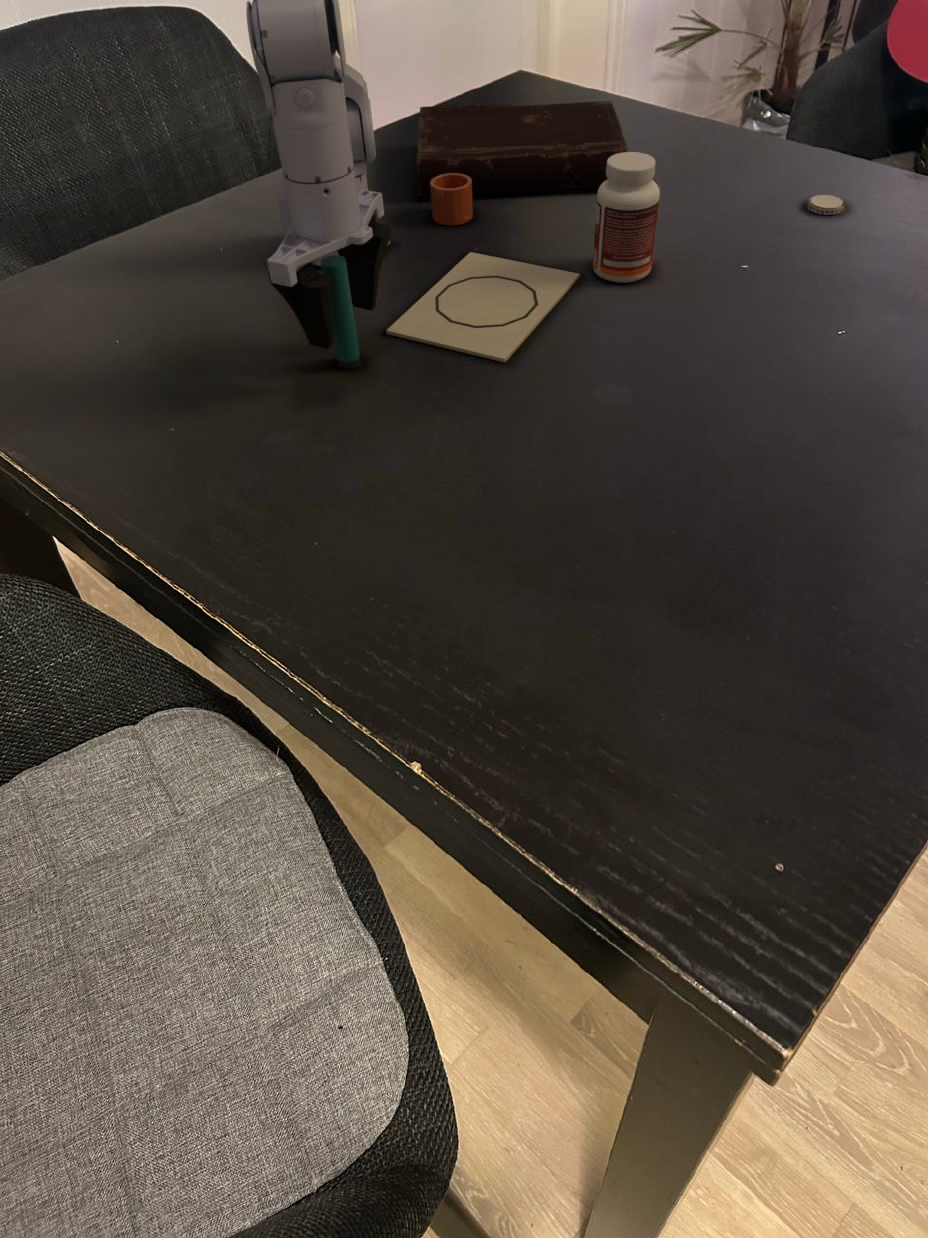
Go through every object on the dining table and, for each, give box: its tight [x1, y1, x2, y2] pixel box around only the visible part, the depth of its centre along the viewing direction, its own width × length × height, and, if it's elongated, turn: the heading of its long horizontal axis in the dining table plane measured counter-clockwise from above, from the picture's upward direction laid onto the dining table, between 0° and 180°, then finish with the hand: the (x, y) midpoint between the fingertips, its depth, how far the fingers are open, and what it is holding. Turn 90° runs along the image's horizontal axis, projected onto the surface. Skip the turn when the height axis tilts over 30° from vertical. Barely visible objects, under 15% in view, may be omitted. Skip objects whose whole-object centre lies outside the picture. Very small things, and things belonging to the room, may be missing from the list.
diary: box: [415, 100, 629, 198], centre depth 111 cm, size 19×25×5 cm
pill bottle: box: [592, 151, 661, 284], centre depth 89 cm, size 6×6×11 cm
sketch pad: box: [386, 251, 581, 364], centre depth 89 cm, size 13×18×1 cm
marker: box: [320, 255, 362, 370], centre depth 79 cm, size 2×2×10 cm
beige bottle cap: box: [806, 194, 846, 215], centre depth 100 cm, size 4×4×1 cm
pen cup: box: [430, 173, 474, 226], centre depth 102 cm, size 5×5×4 cm
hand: (343, 325), depth 80 cm, fingers open, 7 cm apart
